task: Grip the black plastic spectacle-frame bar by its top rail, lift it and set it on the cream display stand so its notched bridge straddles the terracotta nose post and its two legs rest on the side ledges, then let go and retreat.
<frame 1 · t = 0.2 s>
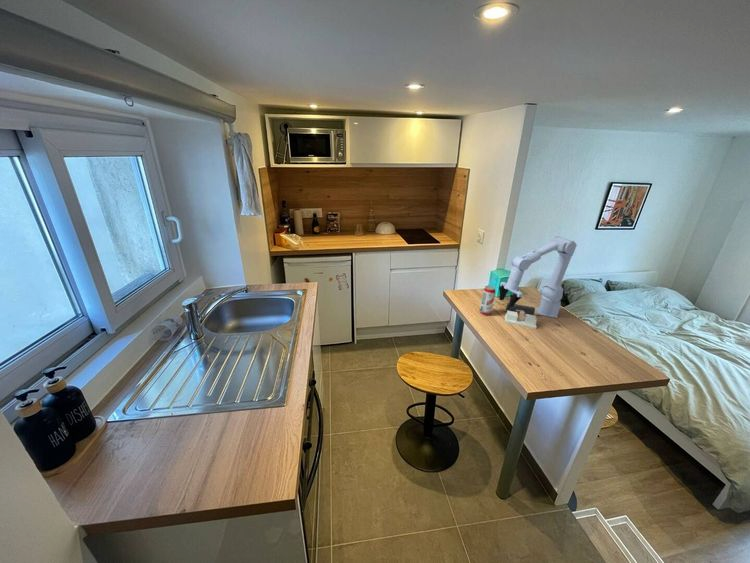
hand: (505, 303, 151), 11 cm above the table, tool pointing down, fingers open, 7 cm apart
display stand: (519, 321, 154), on the table
beer can: (484, 313, 162), on the table
glasses bar: (518, 313, 162), on the table
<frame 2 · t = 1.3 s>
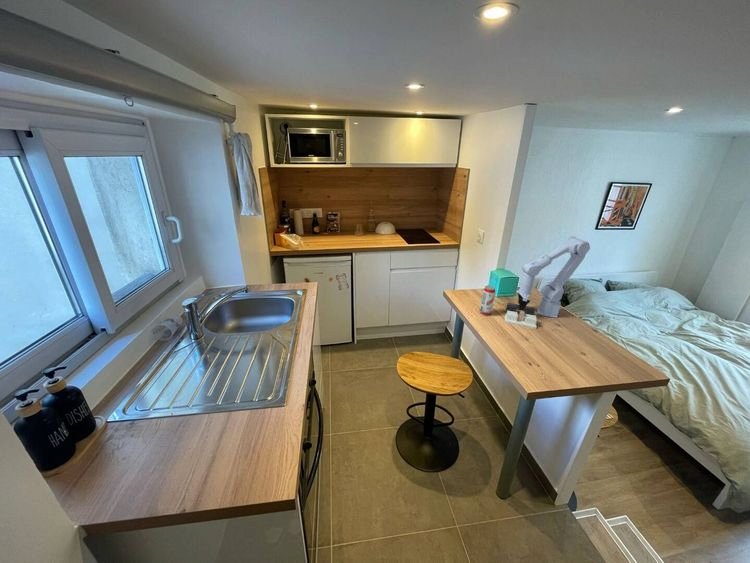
hand: (520, 306, 160), 5 cm above the table, tool pointing down, fingers open, 7 cm apart
nothing on the table moved.
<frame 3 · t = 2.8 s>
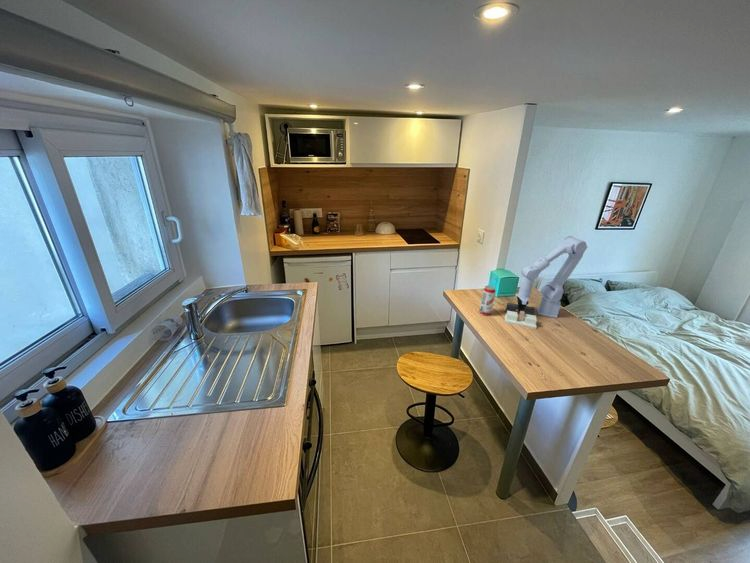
hand: (519, 310, 161), 2 cm above the table, tool pointing down, fingers closed on glasses bar, 2 cm apart
glasses bar: (518, 313, 162), on the table, touching gripper
everything else where it was.
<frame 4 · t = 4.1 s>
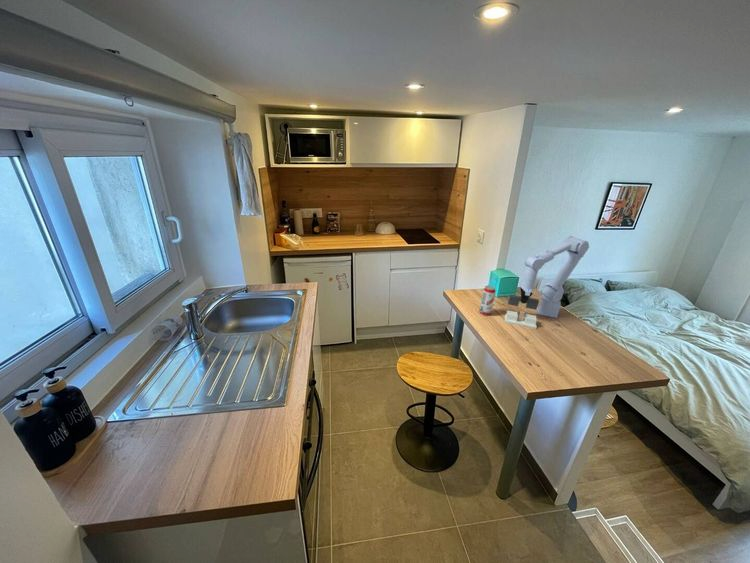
hand: (523, 301, 155), 9 cm above the table, tool pointing down, fingers closed on glasses bar, 2 cm apart
glasses bar: (521, 306, 156), point 7 cm above the table, touching gripper
everything else where it was.
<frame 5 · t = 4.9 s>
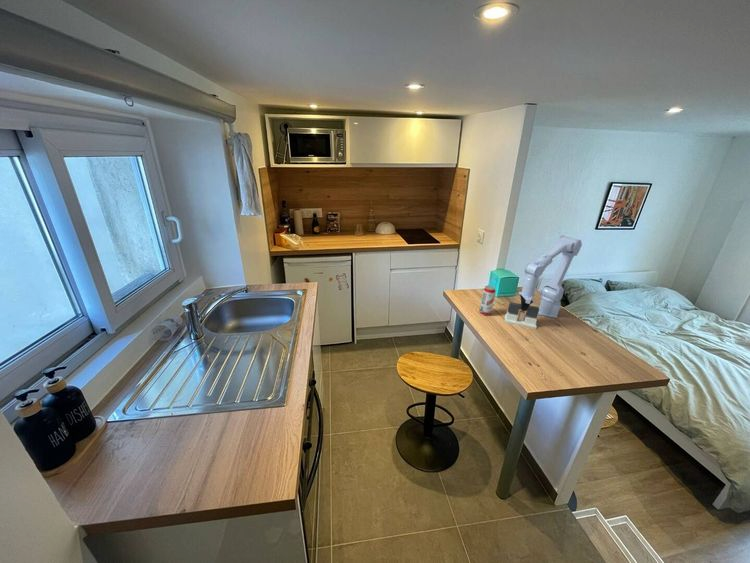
hand: (523, 309, 151), 8 cm above the table, tool pointing down, fingers closed on glasses bar, 2 cm apart
glasses bar: (521, 313, 152), point 5 cm above the table, touching gripper
everything else where it was.
when the fingers open (8 cm above the table, at t = 5.4 s): glasses bar stays where it is, resting on display stand.
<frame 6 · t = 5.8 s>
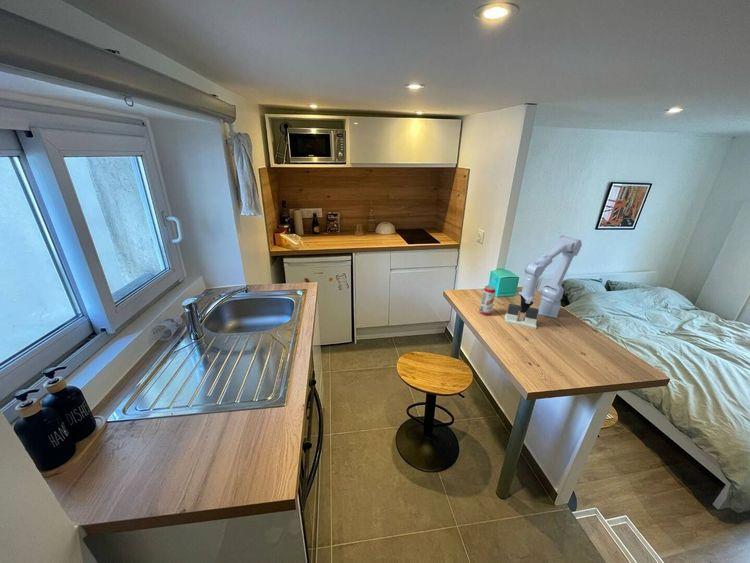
hand: (523, 309, 151), 8 cm above the table, tool pointing down, fingers open, 6 cm apart
glasses bar: (521, 315, 153), point 4 cm above the table, touching display stand
everything else where it was.
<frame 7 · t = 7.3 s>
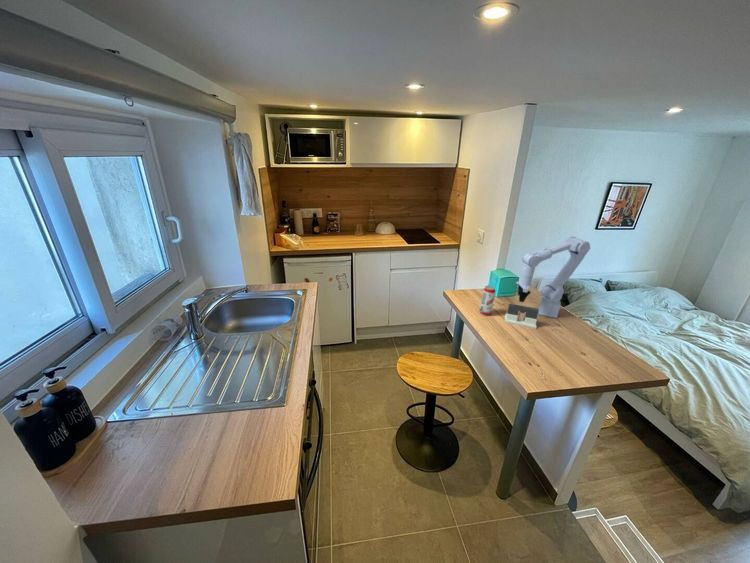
hand: (520, 298, 157), 10 cm above the table, tool pointing down, fingers open, 7 cm apart
nothing on the table moved.
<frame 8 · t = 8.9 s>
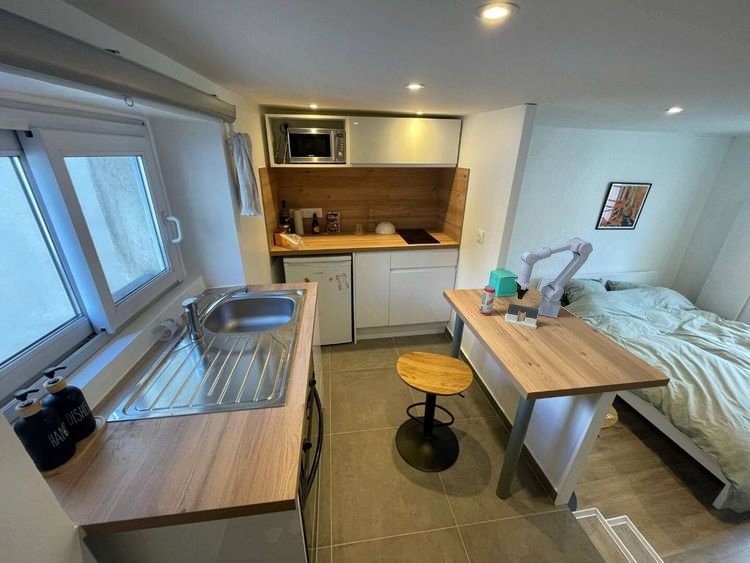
hand: (519, 296, 159), 10 cm above the table, tool pointing down, fingers open, 7 cm apart
nothing on the table moved.
at the end: glasses bar 0.1 cm off-centre on the display stand, point 4.0 cm above the display stand's base; glasses bar tilted 0°; glasses bar touching display stand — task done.
